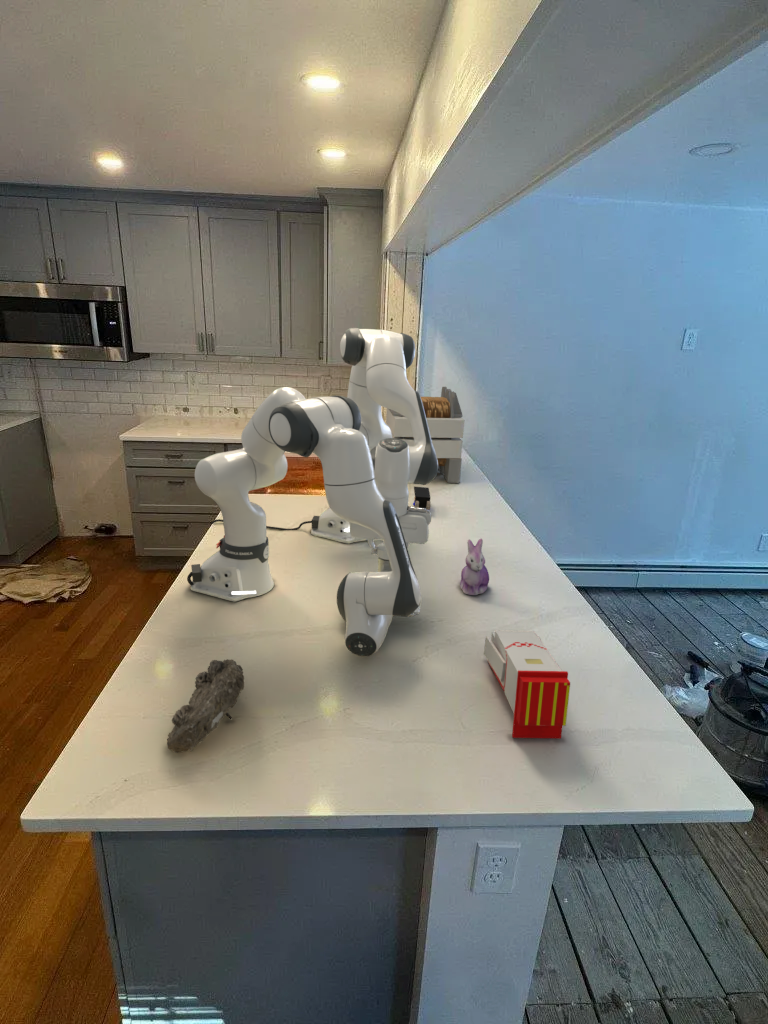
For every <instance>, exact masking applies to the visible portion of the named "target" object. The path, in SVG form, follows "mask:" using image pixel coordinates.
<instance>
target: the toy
mask: <svg viewBox="0 0 768 1024" xmlns="http://www.w3.org/2000/svg"><path fill="white" fill-rule="evenodd" d="M541 639H542V638H541V637H540V635H538V634H537V633H536V631H535V630H510V629H509V630H506V629H505V630H504V629H501V630H499V629H495V630H494V631H491V637H490V636H489V635H487V636H485V639H484V640H485V641H484V649H483V650H484V651H483V656H484V658H486V660H487V663H488V664H489V666H490V668H491V670H492V672H493V674H494V676H495V678H496V680H497V682H498V683H499V685H500V687H501V689H502V691H503V692H504V693H503V694H504V695H505V698H506V699H507V702H508V704H509V706H510V708H511V710H512V712H513V722H512V734H511V737H512V739H562V734H563V733H562V732H563V727H566V726H567V716H568V708H569V699H570V690H571V681H570V680H569V678H568V677H569V672H568V671H565V670H562V669H561V667H560V666H559V664H558V663H557V661H556V660H555V658H554V657H553V656H552V654H551V653H550V652H549V650H548V648H547V647H546V646H545V644H544V643H543V641H542V640H541Z"/></svg>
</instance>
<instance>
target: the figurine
mask: <svg viewBox="0 0 768 1024" xmlns="http://www.w3.org/2000/svg"><path fill="white" fill-rule="evenodd" d="M483 544H484V539H483V538H480V539H478V541H477V542H476V544H474V543H473V541H472V540H471V539H467V555H466V557H465V566H463V568H462V570H461V573H460V583H459V588H460V589H461V590H462V593H463V594H465V595H470V596H477V595H479V594H480V595H481V594H484V593H485V592H486V591H487V590H488V586H489V583H490V574H489V571H488V568H487V566H486V565H485V564H486V559H485V555H484V553H483V550H482V549H483Z"/></svg>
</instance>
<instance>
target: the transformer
mask: <svg viewBox="0 0 768 1024" xmlns="http://www.w3.org/2000/svg"><path fill="white" fill-rule="evenodd" d="M440 393H441V394H440V396H420V397H421V400H422V403H423V407H424V411H425V415H426V419H427V424H428V428H429V432H430V436H431V441H432V444H433V447H434V450H435V453H436V457H437V460H438V471H439V473H440V474H441V475H443V478H444V479H445V481H446V482H447V483H449V484H455V483H456V484H459V483H461V472H462V461H463V460H462V453H463V442H464V441H463V440H462V439H463V438H464V431H465V430H464V429H465V419H464V418H463V411H462V408H461V405H460V402H459V398H458V395H457V392H455V391H453V390H452V389H451V388H447V386H442V387H441V392H440ZM385 414H386V415H385V423H386V424H387V425H388V427H389V428H390V430H391V433H392V438H396V439H400V440H403V441H405V442H406V443H407V444H408V446H415V442H414V437H413V433H412V428H411V424H410V422H409V420H408V419H407V418H406V417H405V416H403V415H402V414H400V413H398V412H396V411H393V410H391V409H388V408H386V413H385Z"/></svg>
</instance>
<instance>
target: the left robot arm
mask: <svg viewBox="0 0 768 1024" xmlns="http://www.w3.org/2000/svg"><path fill="white" fill-rule="evenodd" d="M360 426H361V414H360V410H359V408H358V406H357V405H356V403H355V402H354V401H353V400H351V399H350V398H347V396H344V395H335V394H334V395H330V396H329V395H328V396H313V397H310V398H306V397H305V396H304V394H303V393H302V392H300V391H299V390H298V389H296V388H293V387H290V386H281V387H278V388H276V389H275V390H274V391H272V392H271V393H269V395H268V396H267V397H266V398H265V399H264V400H263V401H262V402H261V403H260V405H259V406H258V407H257V409H256V410H255V411H254V413H253V415H252V416H251V418H250V419H249V420H248V421H247V423H246V425H245V427H244V428H243V430H242V432H241V437H240V440H241V445H242V448H239V449H234V450H228V451H223V452H217V453H214V454H212V455H209V456H207V457H205V458H202V459H201V460H199V461H198V462H197V464H196V466H195V469H194V480H195V484H196V487H197V488H198V490H199V491H200V492H201V493H202V494H203V495H205V496H207V497H208V498H210V499H212V500H213V501H214V502H215V503H216V505H217V506H218V508H219V510H220V512H221V516H222V520H223V522H222V523H223V531H224V535H223V537H222V538H221V539H219V542H217V543H216V544H215V546H216V547H215V548H216V549H218V548H219V550H218V551H216V552H215V553H214V554H212V555H210V556H209V557H207V558H206V559H205V560H204V561H203V563H202V564H200V563H198V564H197V563H195V564H191V565H190V566H191V571H190V572H189V573H188V575H187V577H186V581H187V583H188V584H189V585H190V590H191V591H193V592H195V593H196V592H197V593H200V594H204V595H208V596H211V597H214V598H219V599H221V600H222V599H223V600H226V601H229V602H240V601H242V600H244V599H250V598H255V597H259V596H262V595H265V594H266V593H269V592H270V591H271V590H273V588H274V586H275V582H274V579H273V576H272V572H271V568H270V562H269V557H270V546H269V543H270V542H269V537H268V535H267V528H266V526H267V513H266V512H265V510H264V509H263V507H262V506H261V505H259V504H257V503H255V502H253V501H251V500H250V497H249V492H250V491H254V490H259V489H263V488H266V487H270V486H272V485H275V484H276V483H278V482H280V481H282V480H284V478H285V477H286V475H287V473H288V468H289V466H288V465H289V464H288V459H287V457H286V454H285V453H291V454H296V455H299V456H301V457H303V458H309V457H311V455H312V454H314V455H315V456H317V458H318V459H319V461H320V464H321V469H322V478H323V485H324V492H325V497H326V502H327V505H328V508H329V507H330V508H331V510H332V511H333V512H334V513H335V514H336V515H337V516H339V517H340V518H342V519H344V520H346V521H348V522H351V523H354V524H357V525H360V526H363V527H366V528H368V529H371V530H372V531H374V532H376V533H377V534H378V535H379V536H380V537H381V538H382V539H383V540H382V541H383V543H384V544H385V547H386V551H387V554H388V557H389V561H390V564H391V568H392V571H390V572H378V571H355V572H348V573H347V574H346V575H345V576H343V578H342V580H341V581H340V583H339V584H338V588H337V591H336V607H337V609H338V613H339V615H340V616H341V618H342V619H343V621H344V623H345V633H344V645H345V647H346V649H347V650H348V652H350V653H351V654H353V655H355V656H358V657H370V656H372V655H374V654H376V653H377V652H378V651H379V650H380V648H381V647H382V645H383V644H384V641H385V639H386V636H387V634H388V631H389V627H390V625H391V623H392V621H393V618H394V617H405V618H411V617H415V616H418V615H419V614H420V611H421V607H422V600H423V595H422V590H421V586H420V582H419V580H418V577H417V575H416V572H415V569H414V567H413V566H414V565H413V563H412V560H411V557H410V552H409V550H408V548H407V546H406V542H405V539H404V535H403V532H402V528H401V525H400V522H399V519H398V516H397V513H396V510H395V508H394V506H393V505H392V503H391V502H389V501H387V500H385V499H384V498H383V496H382V495H381V493H380V492H379V490H378V488H377V485H376V481H375V473H374V467H373V461H372V457H371V453H370V449H369V446H368V442H367V439H366V437H365V436H364V434H363V433H361V432H360V431H359V429H360Z"/></svg>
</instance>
